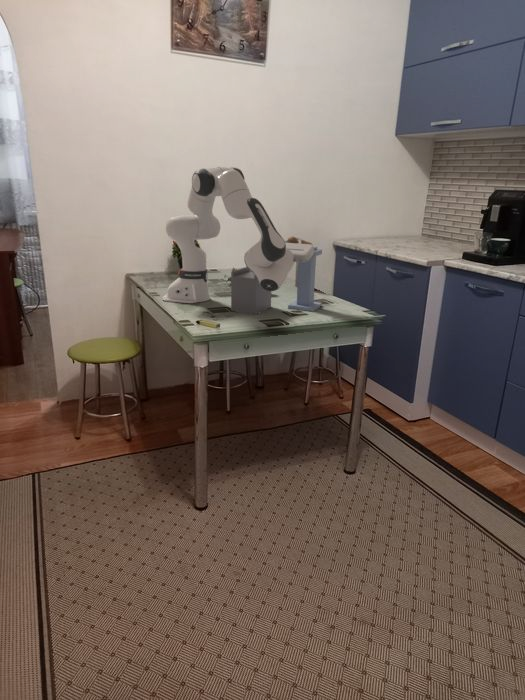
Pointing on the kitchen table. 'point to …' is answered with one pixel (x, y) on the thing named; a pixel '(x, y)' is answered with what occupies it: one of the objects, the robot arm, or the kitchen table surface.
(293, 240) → the dowel
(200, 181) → the robot arm
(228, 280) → the passion flower
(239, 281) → the tray stand
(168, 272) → the kitchen table surface
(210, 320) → the kitchen table surface
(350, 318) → the kitchen table surface
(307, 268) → the shelf post
